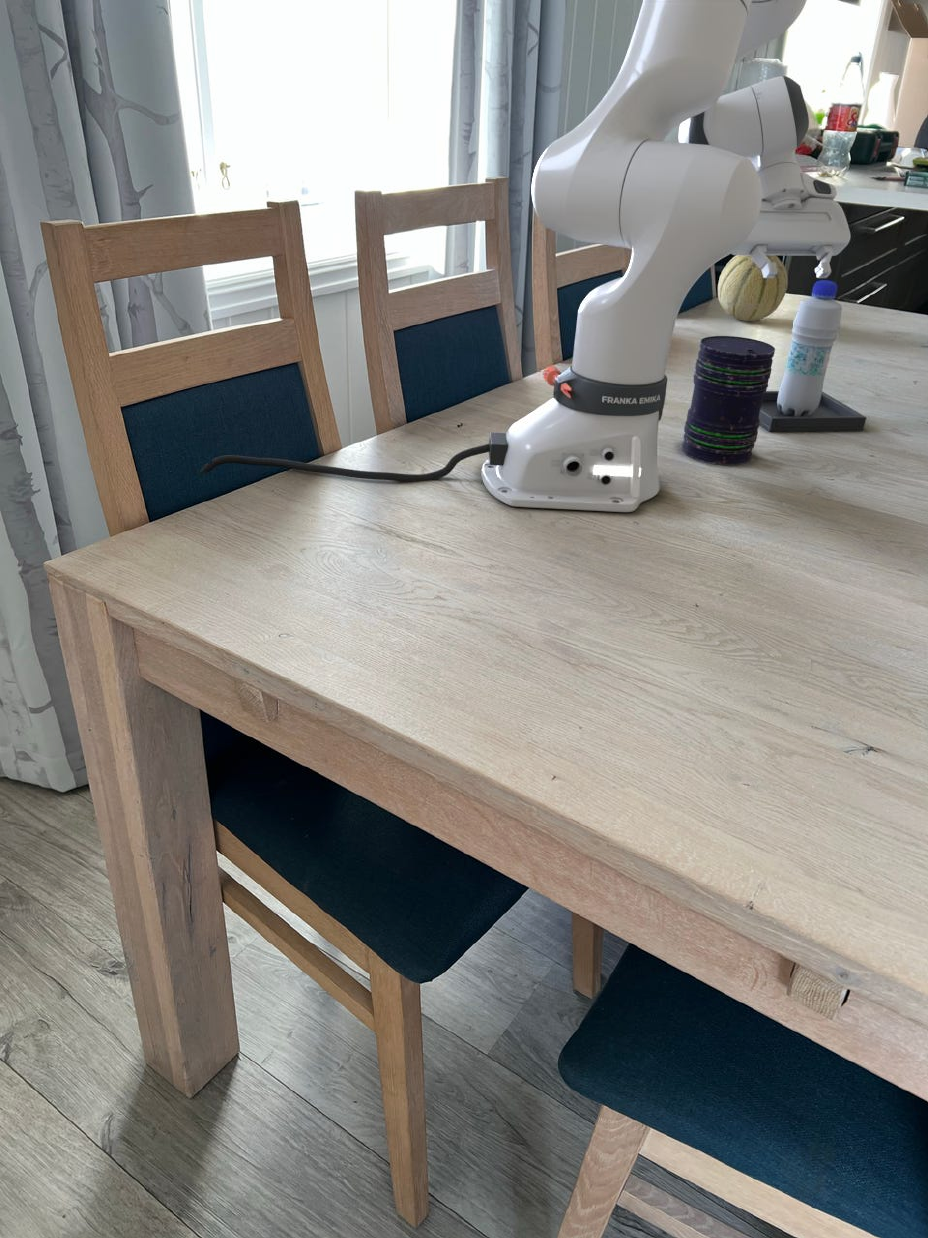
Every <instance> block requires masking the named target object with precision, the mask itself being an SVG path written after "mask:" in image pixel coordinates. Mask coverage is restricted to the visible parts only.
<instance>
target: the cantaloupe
mask: <svg viewBox="0 0 928 1238" xmlns="http://www.w3.org/2000/svg"><path fill="white" fill-rule="evenodd" d="M766 256H767V257H768V259H769V260H770V261H771V262H776V268H777V270H778V273H777V274H776V275H775V276H774V278H764V277H763V274H762V270H761V269H760V268H759V267H758V266H757V265H756V264H755V263H754V262H753V261H752V258H751V255H734V256H733V257H732V258H731V259H730V260H729V261H728V262H727V263H726V265H725V266H724V268H723V269H722V271H721V274H720V275H719V280H718V284H717V298H718V301H719V304H720V306H721V307H722V308H723V310H724V311H725V312H726V313H727V314H728V315H729V316H730V317H733V318H735V319H736V320H740V321H747V322H753V321H755V322H756V321H759V320H762V319H764V318H767V317H769V316H770V315H772V314H773V313H774V312H776V310H778V308H779V307H780V305H781V303H782V301H784V297H785V296H786V293H787V289H788V285H789V278H788V277H789V276H788V272H787V270H786V268H785V265H784V264H783V262H782V261H781V259H780V258H779V257H778V255H766Z"/></svg>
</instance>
